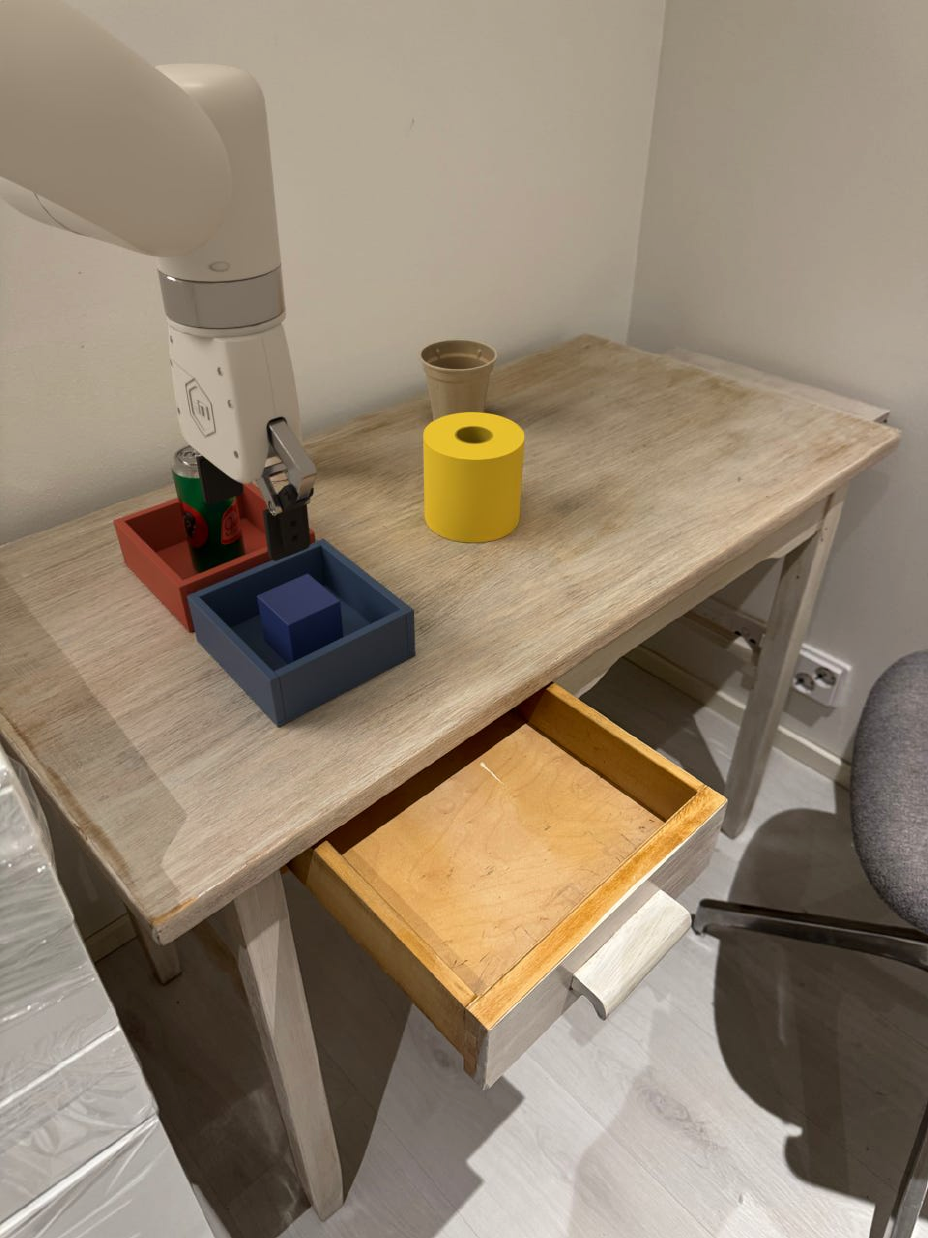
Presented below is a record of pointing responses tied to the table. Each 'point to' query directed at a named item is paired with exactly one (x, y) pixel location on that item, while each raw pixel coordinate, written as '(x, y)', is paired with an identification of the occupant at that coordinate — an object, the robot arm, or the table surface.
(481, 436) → the tape roll
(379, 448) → the table surface
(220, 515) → the soda can
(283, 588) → the blue block
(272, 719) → the blue bin
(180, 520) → the red bin
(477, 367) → the flower pot
